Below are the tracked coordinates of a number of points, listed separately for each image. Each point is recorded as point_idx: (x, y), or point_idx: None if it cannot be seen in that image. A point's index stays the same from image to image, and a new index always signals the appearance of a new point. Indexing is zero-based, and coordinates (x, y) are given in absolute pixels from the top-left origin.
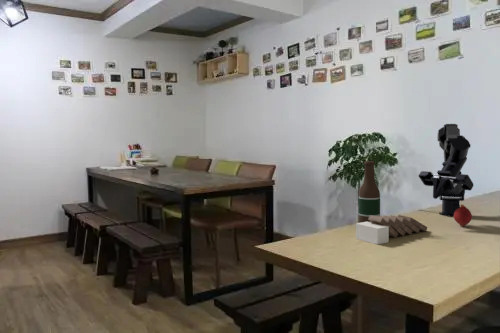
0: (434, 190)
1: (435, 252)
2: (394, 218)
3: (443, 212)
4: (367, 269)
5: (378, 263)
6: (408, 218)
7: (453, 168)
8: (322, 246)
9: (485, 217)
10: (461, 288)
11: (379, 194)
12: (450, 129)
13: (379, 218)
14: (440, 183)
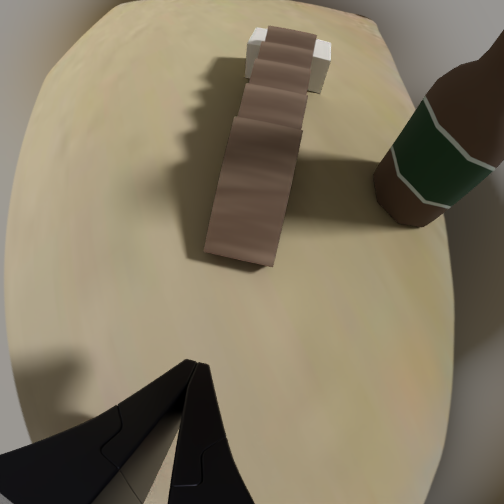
0: (199, 405)
1: (125, 79)
2: (260, 60)
3: None
4: (200, 5)
5: (197, 16)
6: (245, 120)
7: None
8: (319, 30)
9: None
10: (92, 26)
11: (445, 110)
12: None
13: (277, 29)
14: (95, 454)
